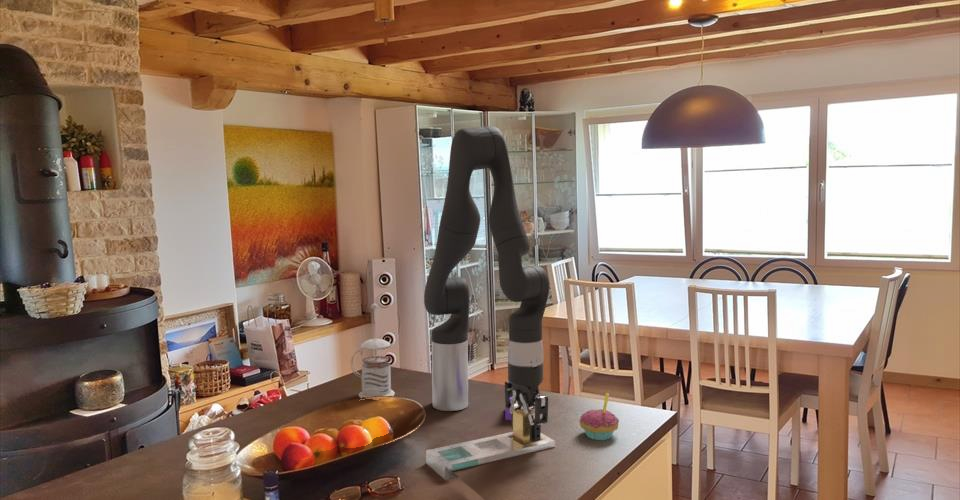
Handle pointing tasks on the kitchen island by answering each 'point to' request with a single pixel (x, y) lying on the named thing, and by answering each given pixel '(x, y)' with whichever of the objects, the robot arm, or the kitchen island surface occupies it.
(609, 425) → the cupcake
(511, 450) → the white compartment tray
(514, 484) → the kitchen island surface
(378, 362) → the french press
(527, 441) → the brass block
